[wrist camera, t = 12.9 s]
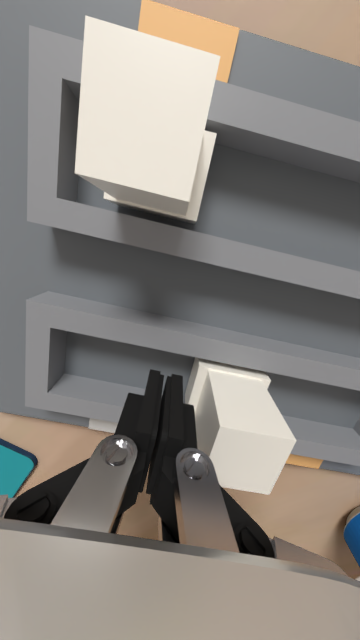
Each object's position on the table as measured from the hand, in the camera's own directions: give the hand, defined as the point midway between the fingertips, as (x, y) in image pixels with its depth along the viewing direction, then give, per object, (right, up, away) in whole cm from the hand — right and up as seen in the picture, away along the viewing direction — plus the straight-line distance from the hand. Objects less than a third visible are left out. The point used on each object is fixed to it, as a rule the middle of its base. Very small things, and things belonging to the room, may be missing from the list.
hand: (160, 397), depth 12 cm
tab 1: (0, +11, -1) cm, 11 cm away
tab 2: (+4, 0, +3) cm, 5 cm away
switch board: (+5, +5, +3) cm, 8 cm away
